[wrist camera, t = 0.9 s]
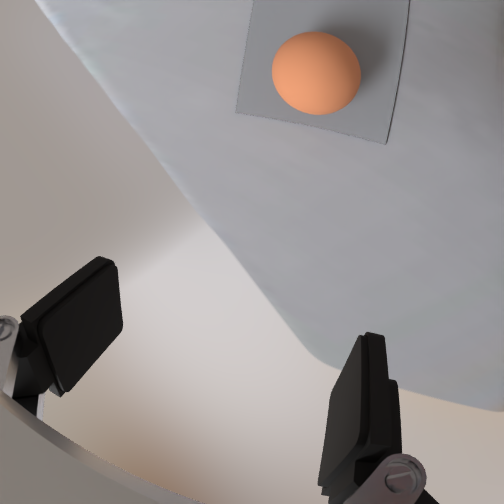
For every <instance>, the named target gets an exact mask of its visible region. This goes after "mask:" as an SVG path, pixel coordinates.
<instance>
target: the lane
mask: <svg viewBox="0 0 504 504" xmlns="http://www.w3.org/2000/svg"><path fill="white" fill-rule="evenodd" d="M408 6H409V0H254V1H253V6H252V12H251V18H250V23H249V29H248V35H247V41H246V47H245V53H244V59H243V65H242V72H241V78H240V85H239V91H238V98H237V104H236V111H235V113H239V114H246V115H253V116H259V117H265V118H271V119H276V120H282V121H287V122H293V123H298V124H303V125H307V126H312V127H317V128H321V129H326V130H330V131H334V132H338V133H343V134H347V135H351V136H354V137H358V138H362V139H366V140H370V141H373V142H377V143H380V144H384V145H386V140H387V136H388V131H389V127H390V122H391V117H392V112H393V107H394V102H395V97H396V91H397V86H398V80H399V74H400V68H401V61H402V55H403V48H404V41H405V33H406V25H407V16H408ZM304 32H323V33H327V34H330V35H333V36H335V37H337V38H339V39H340V40H342V41H343V42H345V43H346V44H347V45H348V46H349V47H350V48H351V49H352V51H353V52H354V54H355V55H356V57H357V59H358V62H359V65H360V70H361V81H360V86H359V89H358V91H357V94H356V95H355V97H354V98H353V100H352V101H351V102H350V103H349V104H348V105H347V106H345V107H344V108H342V109H340V110H339V111H336V112H334V113H330V114H325V115H313V114H308V113H304V112H301V111H299V110H297V109H295V108H293V107H292V106H290V105H289V104H288V103H287V102H286V101H284V100H283V98H282V97H281V96H280V95H279V93H278V92H277V90H276V88H275V85H274V82H273V78H272V64H273V59H274V57H275V54H276V53H277V51H278V49H279V48H280V47H281V45H282V44H283V43H284V42H286V41H287V40H288V39H290V38H291V37H293V36H295V35H298V34H301V33H304Z"/></svg>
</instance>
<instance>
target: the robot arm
mask: <svg viewBox="0 0 504 504" xmlns="http://www.w3.org/2000/svg"><path fill="white" fill-rule="evenodd" d="M20 317H21V320H22V322H21V323H20V324H18V321H17V320H16V319H15V318H13V317H11V316H0V504H205V503H201V502H199V501H196V500H193V499H190V498H187V497H185V496H182V495H180V494H177V493H175V492H172V491H170V490H167V489H164V488H162V487H160V486H157V485H155V484H153V483H151V482H148V481H146V480H144V479H142V478H140V477H137V476H135V475H133V474H131V473H129V472H127V471H125V470H123V469H121V468H119V467H117V466H115V465H113V464H111V463H109V462H107V461H106V460H104V459H102V458H100V457H98V456H97V455H95V454H93V453H91V452H90V451H88V450H86V449H84V448H83V447H81V446H79V445H78V444H76V443H74V442H73V441H71V440H70V439H68V438H66V437H65V436H63V435H62V434H60V433H59V432H57V431H56V430H54V429H52V428H51V427H50V426H48V425H47V424H45V423H44V422H43V408H44V399H45V392H46V390H47V389H48V388H49V390H50V391H51V392H53V393H54V394H56V395H57V396H59V397H61V396H62V395H63V394H64V393H65V392H69V391H70V390H71V389H72V388H73V387H74V386H75V385H76V383H77V382H78V381H79V380H80V379H81V378H82V376H83V375H84V374H85V373H86V372H87V371H88V369H89V368H90V367H91V366H92V365H93V363H94V362H95V361H96V360H97V359H98V358H99V357H100V356H101V354H102V353H103V352H104V351H105V350H106V349H107V347H108V346H109V345H110V344H111V343H112V342H113V341H114V340H115V338H116V337H117V336H118V335H119V334H120V333H121V331H122V328H123V319H122V311H121V301H120V292H119V280H118V269H117V267H116V266H115V263H114V262H113V261H112V260H110V259H106V258H104V257H101V256H98V257H96V258H95V259H93V260H92V261H90V262H89V263H88V264H86V265H85V266H84V267H82V268H81V269H79V270H78V271H77V272H75V273H74V274H73V275H71V276H70V277H69V278H68V279H66V280H65V281H64V282H63V283H61V284H60V285H58V286H57V287H56V288H54V289H53V290H52V291H51V292H49V293H48V294H47V295H46V296H44V297H43V298H42V299H41V300H39V301H38V302H37V303H36V304H34V305H33V306H32V307H31V308H29V309H28V310H27V311H26V312H25V313H23V314H22V315H21V316H20ZM401 439H402V438H401V419H400V405H399V393H398V385H397V382H396V381H395V380H391V379H389V376H388V365H387V354H386V345H385V337H384V336H383V335H379V334H375V333H370V332H366V333H365V335H364V336H362V335H359V336H358V338H357V340H356V342H355V344H354V347H353V349H352V351H351V353H350V355H349V357H348V359H347V361H346V364H345V366H344V368H343V370H342V372H341V374H340V376H339V378H338V380H337V382H336V384H335V386H334V388H333V390H332V392H331V396H330V401H329V410H328V418H327V425H326V433H325V440H324V446H323V453H322V460H321V465H320V471H319V477H318V486H323V488H322V493H321V495H325V496H329V501H328V503H329V504H439V503H438V502H437V501H436V500H435V499H434V498H433V497H432V496H431V495H430V494H429V493H428V492H427V491H425V489H424V487H425V485H426V472H425V469H424V467H423V465H422V464H421V463H420V462H419V461H418V460H417V459H416V458H414V457H412V456H410V455H408V454H402V440H401Z"/></svg>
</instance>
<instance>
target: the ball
mask: <svg viewBox="0 0 504 504" xmlns="http://www.w3.org/2000/svg"><path fill="white" fill-rule="evenodd" d="M272 78H273V82H274V85H275V88H276V90H277V92H278V93H279V95H280V96H281V97H282V98H283V100H284V101H286V102H287V103H288V104H289V105H290V106H292V107H293V108H295V109H297V110H299V111H301V112H304V113H308V114H313V115H325V114H330V113H334V112H336V111H339V110H340V109H342V108H344V107H345V106H347V105H348V104H349V103H350V102H351V101H352V100H353V98H354V97H355V95H356V94H357V91H358V89H359V86H360V81H361V70H360V65H359V62H358V59H357V57H356V55H355V54H354V52H353V51H352V49H351V48H350V47H349V46H348V45H347V44H346V43H345V42H343V41H342V40H340V39H339V38H337V37H335V36H333V35H330V34H327V33H323V32H304V33H301V34H298V35H295V36H293V37H291V38H290V39H288V40H287V41H286V42H284V43H283V44H282V45H281V47H280V48H279V49H278V51H277V53H276V54H275V57H274V59H273V64H272Z"/></svg>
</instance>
